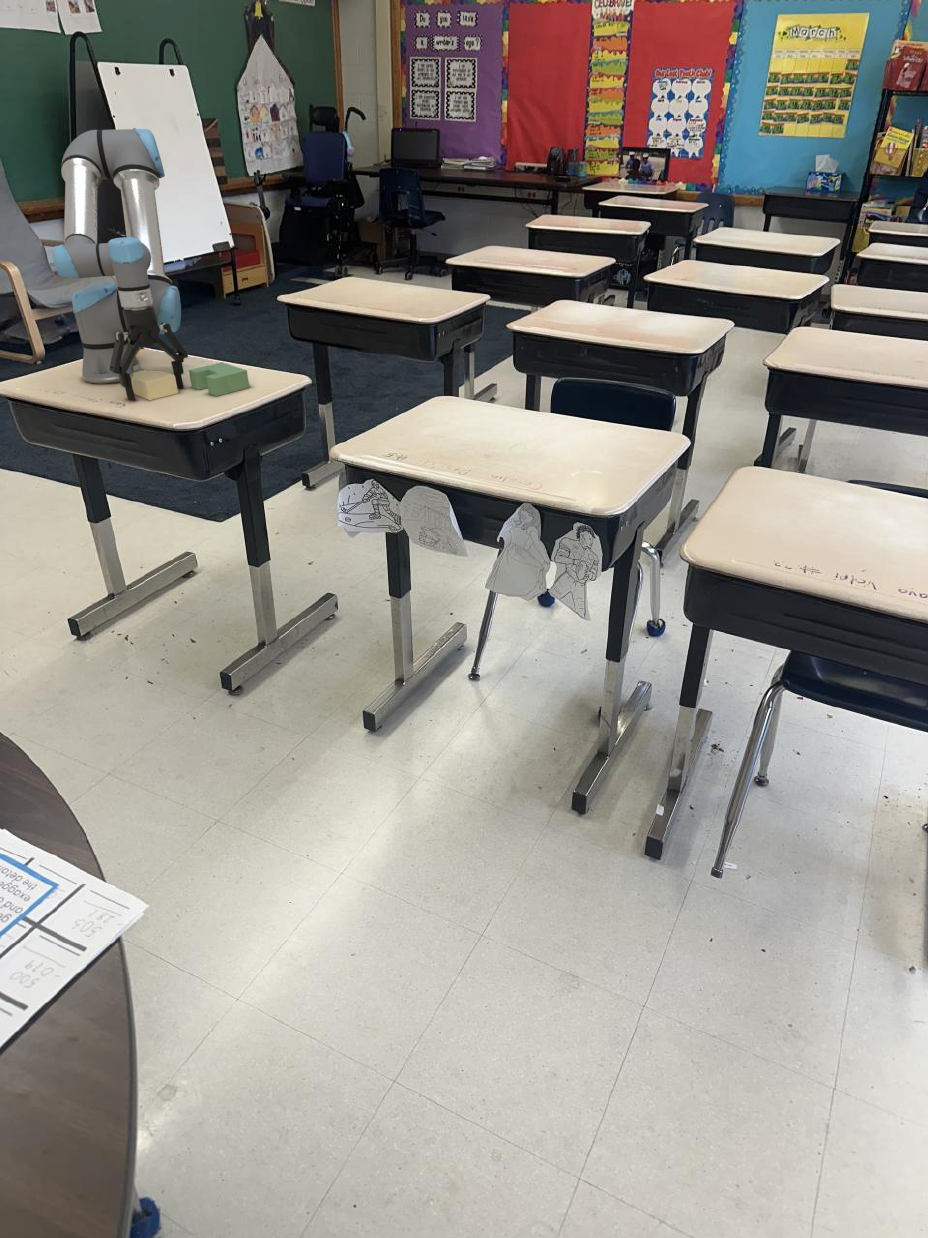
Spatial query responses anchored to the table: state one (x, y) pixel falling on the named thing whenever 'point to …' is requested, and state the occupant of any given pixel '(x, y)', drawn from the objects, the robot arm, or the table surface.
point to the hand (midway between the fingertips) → (156, 393)
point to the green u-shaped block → (219, 378)
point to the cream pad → (153, 384)
